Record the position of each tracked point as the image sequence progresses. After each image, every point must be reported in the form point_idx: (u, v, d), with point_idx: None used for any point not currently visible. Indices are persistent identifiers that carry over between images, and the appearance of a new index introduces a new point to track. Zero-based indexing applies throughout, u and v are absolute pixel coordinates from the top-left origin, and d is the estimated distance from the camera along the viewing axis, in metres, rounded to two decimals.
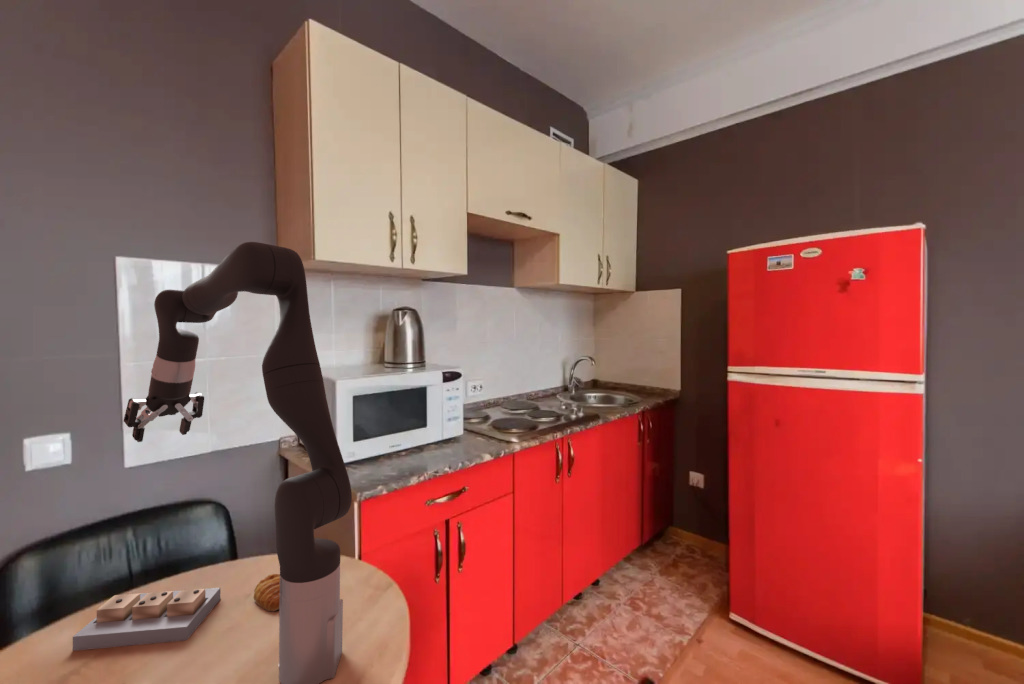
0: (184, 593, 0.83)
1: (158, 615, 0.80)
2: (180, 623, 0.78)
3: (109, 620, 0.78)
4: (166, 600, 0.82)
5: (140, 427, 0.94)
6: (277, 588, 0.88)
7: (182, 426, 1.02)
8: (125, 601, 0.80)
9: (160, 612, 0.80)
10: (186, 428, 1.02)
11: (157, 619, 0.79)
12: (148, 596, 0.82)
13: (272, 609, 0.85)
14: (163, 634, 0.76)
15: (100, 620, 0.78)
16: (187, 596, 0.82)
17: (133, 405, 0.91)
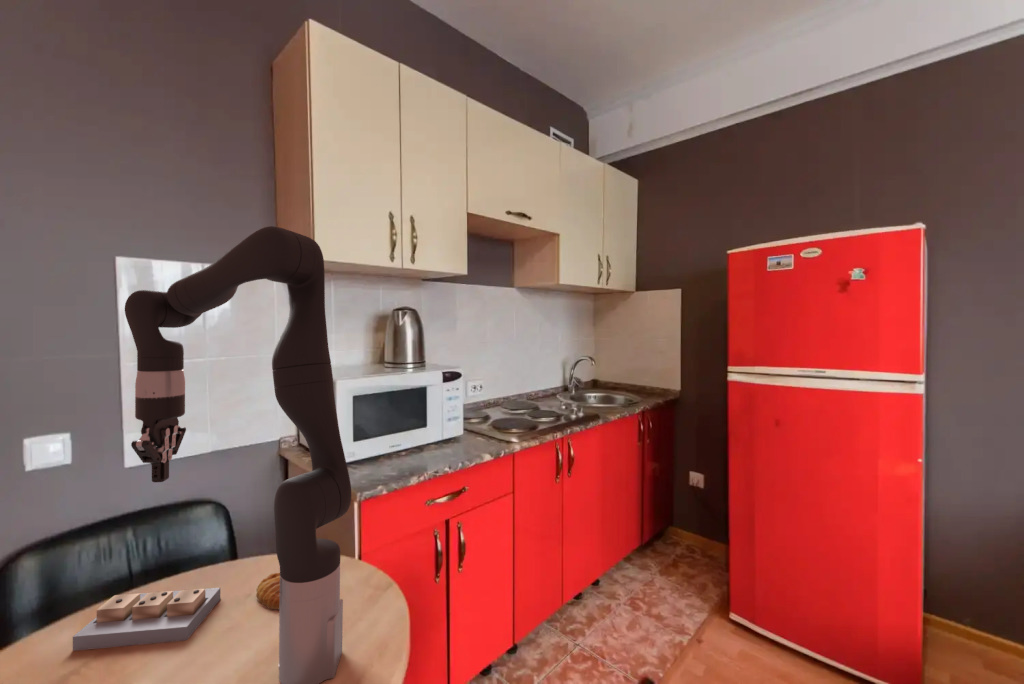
0: (184, 593, 0.83)
1: (158, 615, 0.80)
2: (180, 623, 0.78)
3: (109, 620, 0.78)
4: (166, 600, 0.82)
5: (164, 461, 0.82)
6: None
7: None
8: (125, 601, 0.80)
9: (160, 612, 0.80)
10: (168, 470, 0.84)
11: (157, 619, 0.79)
12: (148, 596, 0.82)
13: (275, 608, 0.86)
14: (163, 634, 0.76)
15: (100, 620, 0.78)
16: (187, 596, 0.82)
17: (146, 445, 0.77)
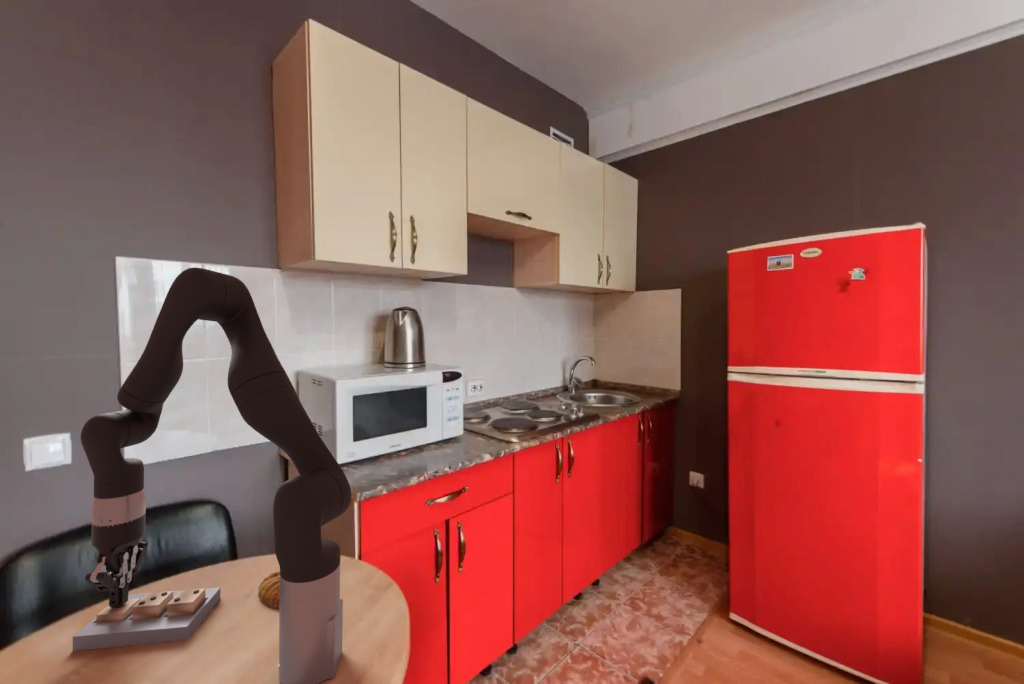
0: (184, 593, 0.83)
1: (158, 615, 0.80)
2: (180, 623, 0.78)
3: None
4: (166, 600, 0.82)
5: (122, 586, 0.80)
6: None
7: None
8: (125, 606, 0.80)
9: (160, 612, 0.80)
10: (127, 593, 0.81)
11: (157, 619, 0.79)
12: (148, 596, 0.82)
13: (278, 606, 0.86)
14: (163, 634, 0.76)
15: None
16: (187, 596, 0.82)
17: (101, 578, 0.75)
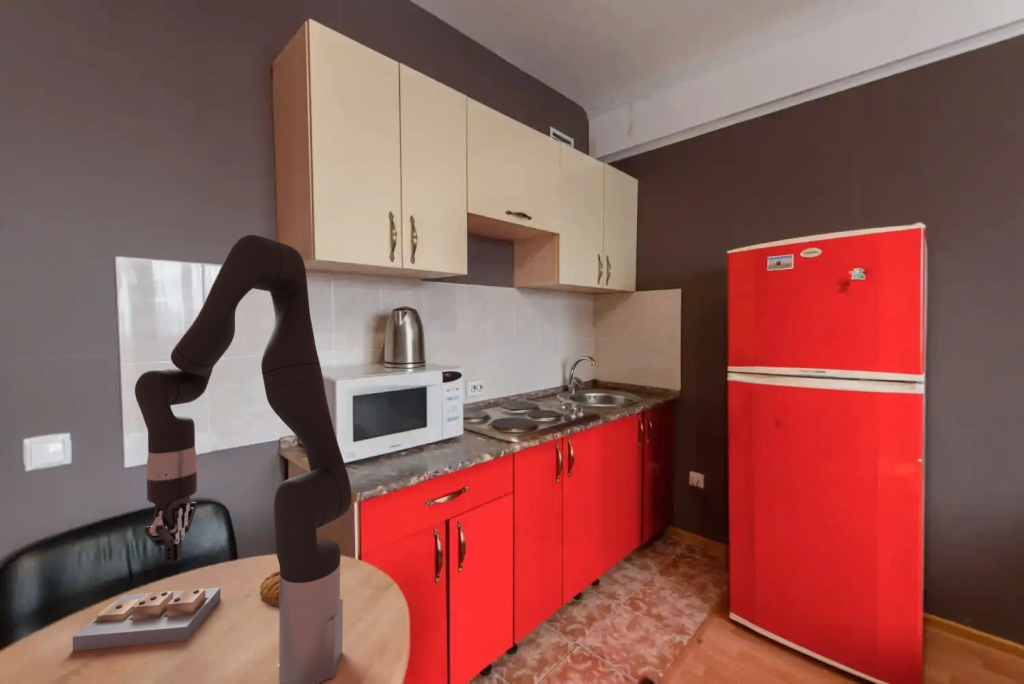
0: (184, 593, 0.83)
1: (158, 615, 0.80)
2: (180, 623, 0.78)
3: None
4: (166, 600, 0.82)
5: (177, 542, 0.80)
6: None
7: None
8: (125, 607, 0.80)
9: (160, 612, 0.80)
10: (181, 550, 0.82)
11: (157, 619, 0.79)
12: (148, 596, 0.82)
13: None
14: (163, 634, 0.76)
15: None
16: (187, 596, 0.82)
17: (160, 530, 0.75)
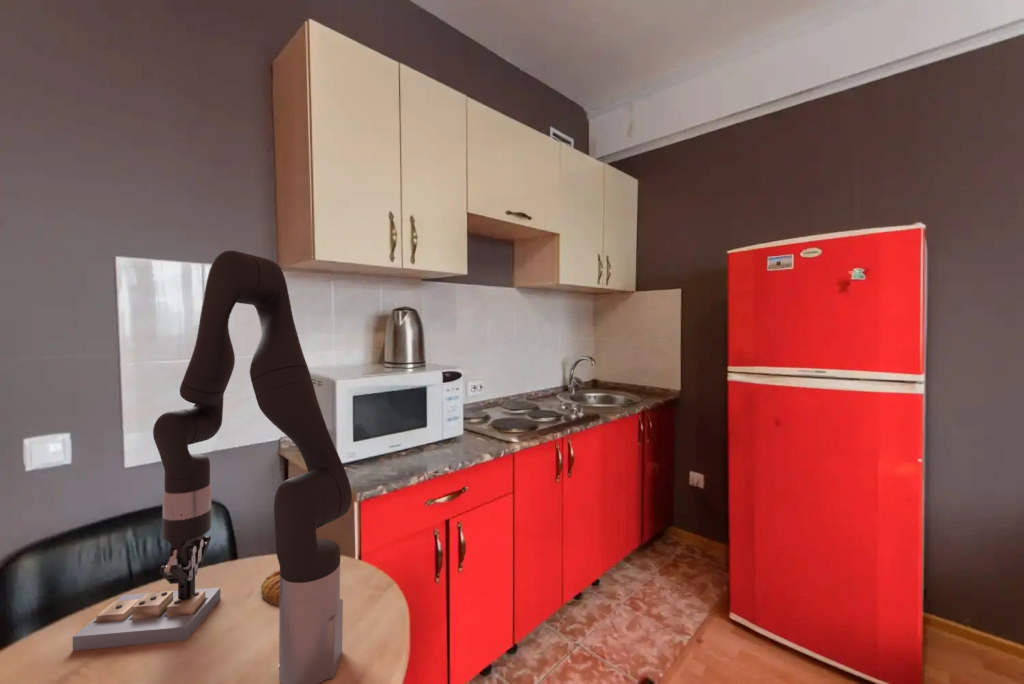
0: None
1: (158, 615, 0.80)
2: (180, 623, 0.78)
3: None
4: (166, 600, 0.82)
5: (191, 579, 0.82)
6: None
7: None
8: (125, 607, 0.80)
9: (160, 612, 0.80)
10: (194, 586, 0.83)
11: (157, 619, 0.79)
12: (148, 596, 0.82)
13: None
14: (163, 634, 0.76)
15: None
16: None
17: (174, 571, 0.77)
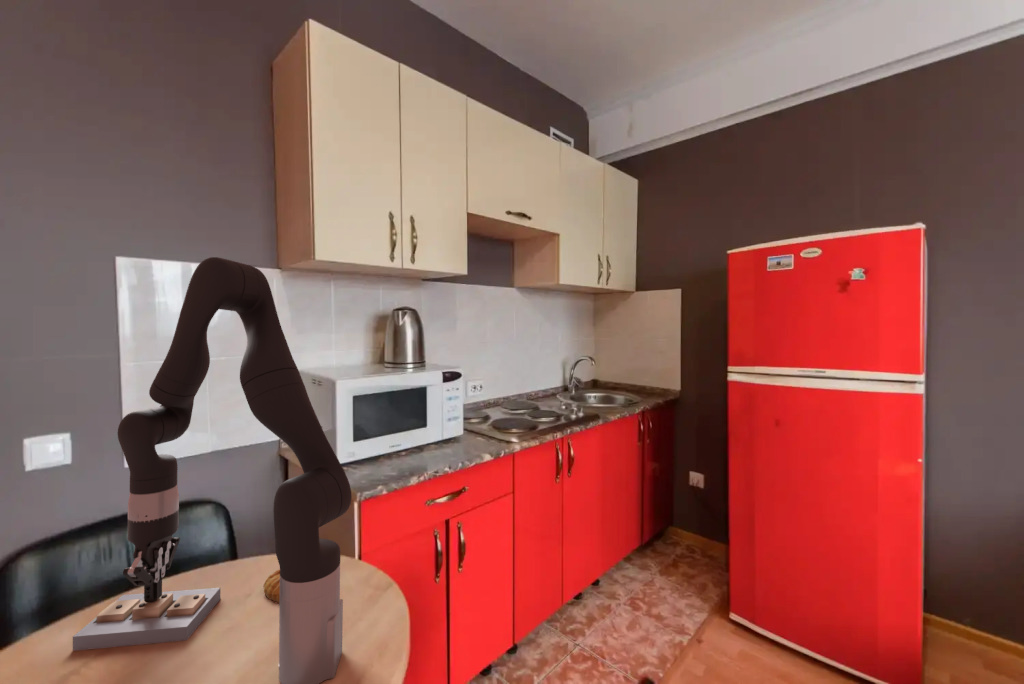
0: (184, 598, 0.83)
1: (158, 617, 0.80)
2: (180, 623, 0.78)
3: None
4: (166, 602, 0.82)
5: (157, 581, 0.81)
6: None
7: None
8: (125, 607, 0.80)
9: (160, 614, 0.80)
10: (161, 588, 0.82)
11: (157, 619, 0.79)
12: None
13: None
14: (163, 634, 0.76)
15: None
16: (187, 602, 0.82)
17: (138, 573, 0.76)
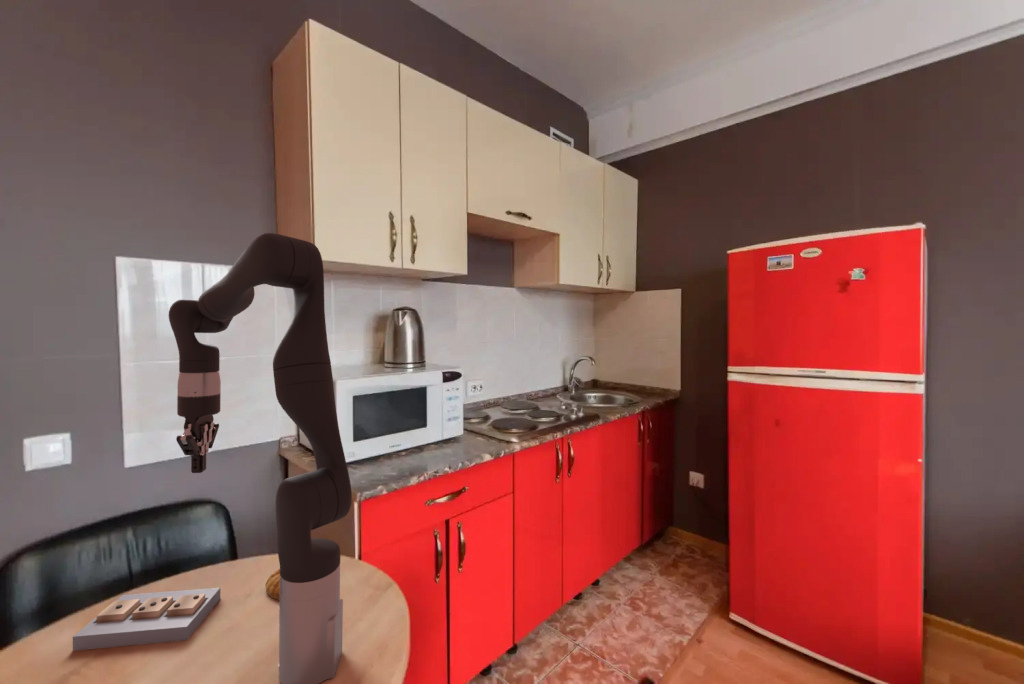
0: (184, 598, 0.83)
1: None
2: (180, 623, 0.78)
3: None
4: (166, 606, 0.82)
5: (203, 454, 0.91)
6: None
7: None
8: (125, 607, 0.80)
9: None
10: (205, 462, 0.92)
11: (157, 619, 0.79)
12: (148, 602, 0.82)
13: None
14: (163, 634, 0.76)
15: None
16: (187, 602, 0.82)
17: (190, 439, 0.86)
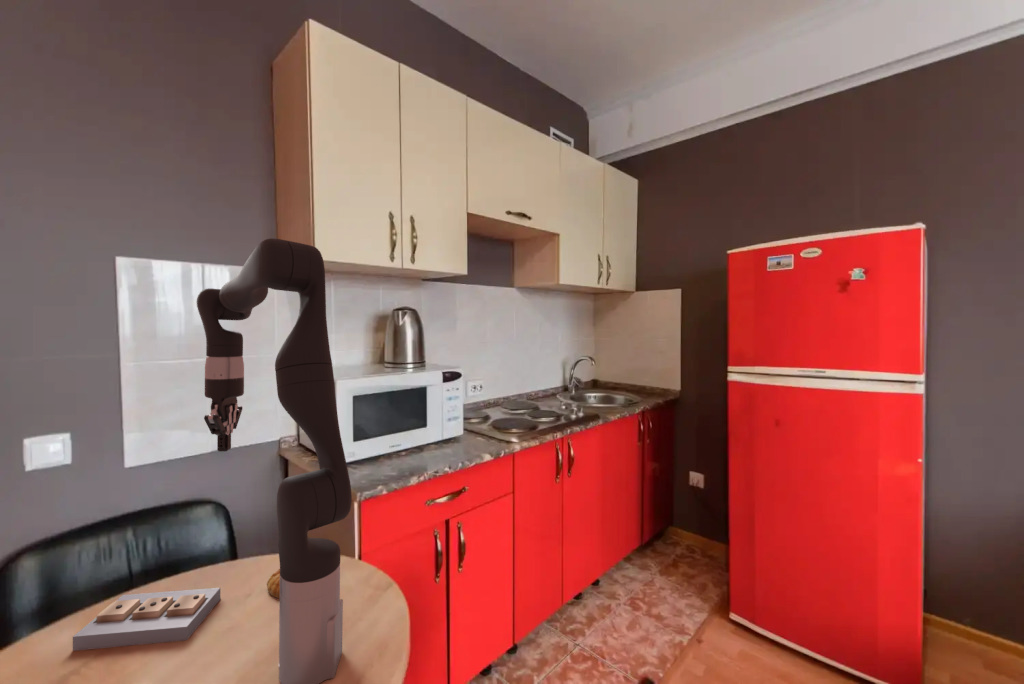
0: (184, 598, 0.83)
1: None
2: (180, 623, 0.78)
3: None
4: (166, 606, 0.82)
5: (228, 433, 0.97)
6: None
7: None
8: (125, 607, 0.80)
9: None
10: (230, 441, 0.98)
11: (157, 619, 0.79)
12: (148, 602, 0.82)
13: None
14: (163, 634, 0.76)
15: None
16: (187, 602, 0.82)
17: (216, 419, 0.92)
